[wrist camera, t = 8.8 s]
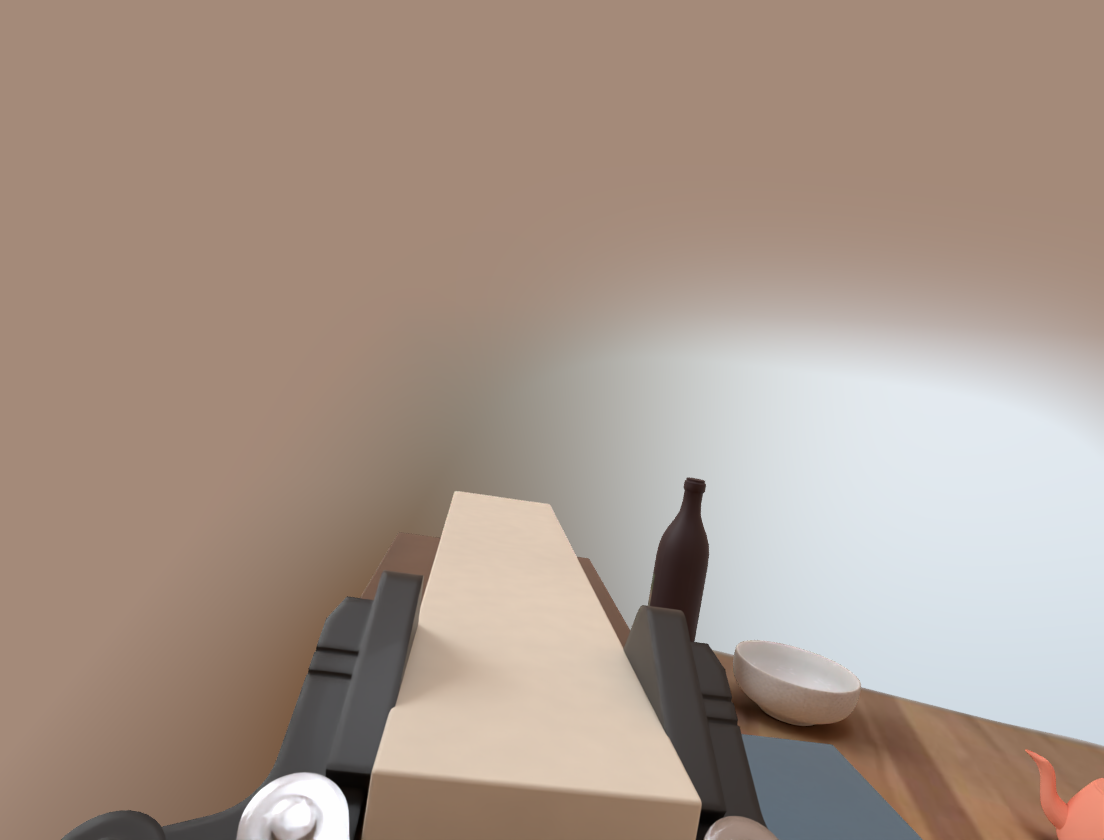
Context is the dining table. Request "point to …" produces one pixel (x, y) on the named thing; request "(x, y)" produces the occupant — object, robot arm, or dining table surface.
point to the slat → (521, 701)
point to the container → (818, 794)
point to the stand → (419, 557)
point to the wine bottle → (683, 559)
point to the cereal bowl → (795, 683)
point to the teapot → (1071, 806)
